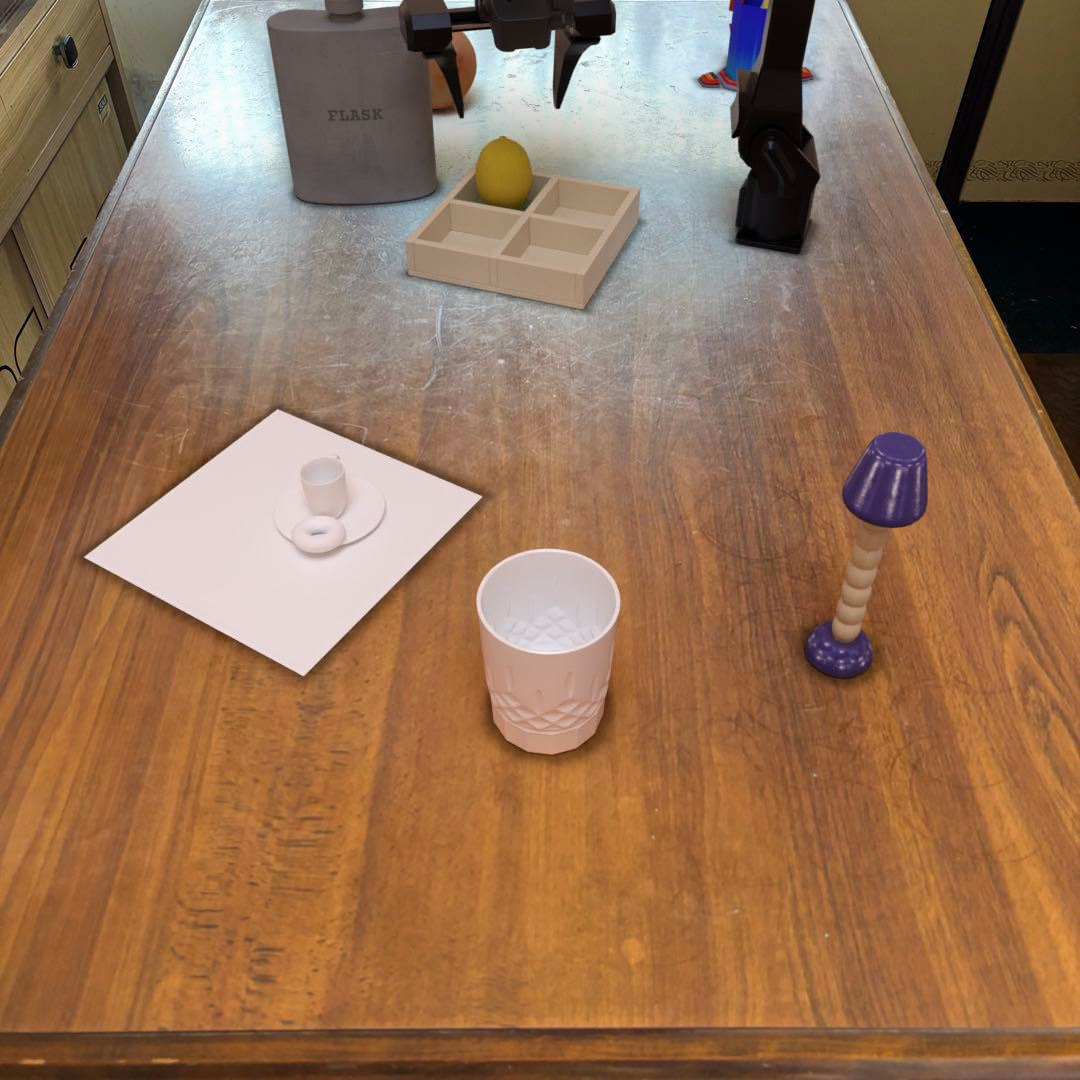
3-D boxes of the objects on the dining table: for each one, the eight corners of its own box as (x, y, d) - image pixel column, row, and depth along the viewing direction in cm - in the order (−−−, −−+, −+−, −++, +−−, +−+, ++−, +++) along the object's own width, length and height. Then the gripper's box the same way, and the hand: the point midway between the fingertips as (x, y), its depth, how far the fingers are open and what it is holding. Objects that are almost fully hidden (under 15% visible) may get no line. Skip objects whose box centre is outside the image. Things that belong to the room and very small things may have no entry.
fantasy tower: (691, 83, 137) (701, -20, 128) (735, 54, 144) (747, -46, 135) (777, 106, 132) (793, -1, 123) (819, 74, 139) (837, -29, 130)
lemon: (525, 230, 109) (525, 151, 103) (471, 224, 109) (467, 146, 104) (537, 203, 112) (537, 127, 107) (484, 198, 113) (481, 122, 108)
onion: (494, 99, 133) (492, 12, 126) (446, 129, 127) (441, 39, 120) (430, 82, 137) (424, -3, 130) (380, 111, 131) (371, 23, 124)
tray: (638, 222, 111) (640, 188, 109) (583, 310, 100) (584, 274, 97) (479, 194, 116) (477, 161, 113) (408, 275, 104) (405, 240, 101)
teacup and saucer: (330, 574, 76) (322, 531, 73) (243, 532, 79) (232, 489, 76) (407, 501, 81) (402, 459, 78) (323, 464, 84) (316, 422, 81)
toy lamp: (798, 621, 72) (847, 419, 61) (870, 622, 72) (932, 420, 61) (809, 678, 69) (863, 475, 57) (884, 680, 69) (953, 477, 57)
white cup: (480, 664, 70) (473, 552, 63) (603, 656, 70) (610, 543, 63) (486, 769, 64) (479, 658, 57) (620, 759, 65) (630, 648, 58)
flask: (292, 208, 113) (257, 2, 100) (296, 182, 118) (263, -19, 104) (438, 202, 114) (424, -3, 100) (436, 176, 119) (423, -24, 105)
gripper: (408, -33, 86) (423, 159, 97) (638, -50, 89) (628, 138, 100) (390, -74, 94) (406, 108, 105) (602, -88, 97) (596, 90, 108)
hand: (509, 112), depth 104 cm, fingers open, 9 cm apart
